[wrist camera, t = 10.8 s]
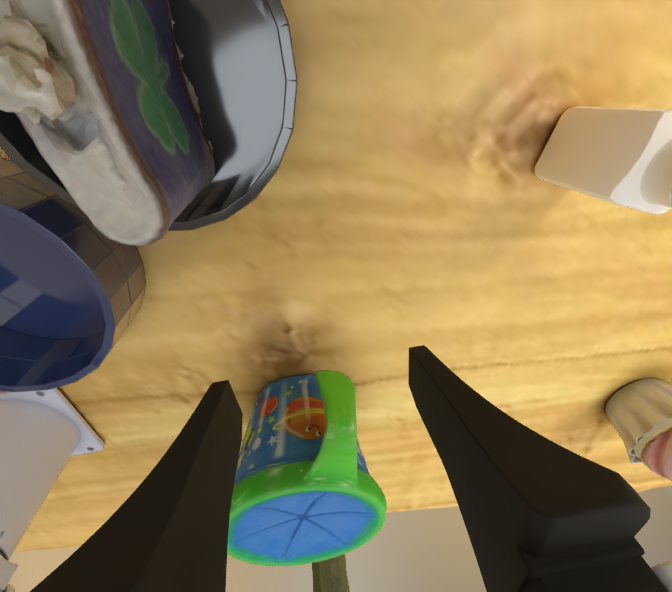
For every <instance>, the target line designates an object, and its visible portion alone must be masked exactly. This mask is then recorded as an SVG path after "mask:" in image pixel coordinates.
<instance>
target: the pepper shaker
mask: <svg viewBox="0 0 672 592" xmlns="http://www.w3.org/2000/svg"><path fill="white" fill-rule="evenodd" d="M534 173H535V174H536V175H537V177H538V178H539V179H541V180H544V181H547V182H550V183H553V184H556V185H559V186H562V187H565V188H568V189H571V190H574V191H577V192H580V193H583V194H586V195H589V196H592V197H595V198H599V199H602V200H605V201H608V202H611V203H614V204H617V205H621V206H625V207H628V208H632V209H636V210H639V211H643V212H647V213H651V214H655V215H659V214H661V213H664V212H666V211H667V210H669V209H671V208H672V109H646V108H617V107H588V106H577V107H572V108H569V109H567V110H566V111H565V112H564V113H563V114H562V116H561V117H560V119H559V121H558V123H557V125H556V127H555V129H554V131H553V133H552V135H551V137H550V139H549V140H548V142H547V144H546V146H545V148H544V150H543V152H542V154H541V156H540V158H539V160H538V162H537V164H536V166H535V170H534Z"/></svg>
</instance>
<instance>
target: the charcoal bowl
mask: <svg viewBox="0 0 672 592" xmlns="http://www.w3.org/2000/svg"><path fill="white" fill-rule="evenodd" d="M168 2H169V8H170V12H171V16H172V20H173V21H175V24H173V36H174V39H175V43H176V44H177V46H178V48H179V49H180V52H181V53H182V54H183V55H184V57H183V58H182V59H181V60H180V61H181V67H182V71H183V72H184V74H185V75H186V77H187V78H188V82H191V85H192V86H193V87H194V92H195V94H196V96H197V97H198V106H199V109H200V114H199V115H200V118H201V122H200V123H201V124H202V128H203V132H204V135H205V137H206V139H207V141H210V143H211V146H212V147H213V149H212V152H213V157H214V164H215V171H216V172H215V175H214V178H213V179H212V181H211V182H210V183H209V185H208V186H206V187H205V188H204V189H203V190H202V191H201V192H200V193H199V194H198V195H197V196H196V197H195V198H194V199H193V201H192V202H191V203H190V204H188V205H187V207H186V208H185V209H184V210H183V211H182V212H181V213H180V215H179V216H178V217H177V218H176V219H175V220H174V221H173V223H172V224H171V226H170V228H169V230H168V231H184V230H193V229H197V228H200V227H203V226H206V225H210V224H213V223H216V222H220V221H223V220H225V219H227V218H229V217H230V216H232V215H233V214H234V213H236V212H237V211H239V210H240V209H242V208H243V207H245V206H246V205H248V204H249V203H250V202H252V201H253V200H254V199H256V197H257V196H258V195H259V194H260V192H261V191H262V190H263V188H264V187H265V186H266V184H267V183H268V182H269V181H270V179H271V178H272V177H273V175H274V174H275V173H276V172H277V170H278V168H279V166H280V163H281V160H282V158H283V155H284V152H285V150H286V147H287V144H288V142H289V139H290V136H291V134H292V131H293V130H292V129H293V125H294V114H295V103H296V92H297V74H296V67H295V60H294V54H293V47H292V40H291V34H290V27H289V24H288V20H287V17H286V15H285V12H284V9H283V7H282V4H281V2H280V0H168ZM0 147H1V148H2V149H3V151H4V152H5V153H6V154H7V155H8V156H9V157H10V158H11V159H12V160H13V161H14V162H15V163H16V164H17V165H18V167H20V168H21V169H22V170H23V171H25V172H26V173H27V174H29V175H30V176H31V177H33V178H34V179H36V180H37V181H38V182H40V183H41V184H42V185H44V186H45V187H46V188H48V189H49V190H51V191H52V192H53V193H55V194H56V195H57V196H59V197H60V198H62V199H63V200H65V201H66V202H68V203H70V204H73V205H75V206H77V207H78V205H77V204H76V203H75V201H74V200H73V198H72V197H71V195H70V194H69V192H68V191H67V189H66V188H65V186H64V185H63V183H62V182H61V181H60V179H59V178H58V176H57V175H56V174H55V172H54V171H53V170H52V168H51V167H50V166H49V164H48V163H47V162H46V161H45V159H44V158H43V157H42V155H41V154H40V153H39V151H38V149H37V147H36V145H35V143H34V141H33V140H32V138H31V137H30V136H29V135H28V133H27V132H26V131H25V129H24V127H23V125H22V123H21V121H20V119H19V118H18V117H17V115H16V114H15V113H14V112H5V111H3V110H0Z"/></svg>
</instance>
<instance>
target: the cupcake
mask: <svg viewBox="0 0 672 592" xmlns="http://www.w3.org/2000/svg"><path fill="white" fill-rule="evenodd" d="M605 412H606V416H607V417H608V419H609V420H610V422H611V423H612V425H613V426H614V428H615V429H616V431H617V432H618V434H619V435H620V437H621V438H622V440H623V442H624V444H625V447H626V450H627V453H628V456H629V459H630V462H631V463H637V462H643V463H644V465H646V466H647V467H648V468H649V469H650V470H652V471H653V472H655V473H656V474H658V475H660V476H662V477H666V478H668V479H669V480H671V481H672V385H670V384H668V383H666V382H664V381H662V380H660V379H655V378H646V379H642V380H638V381H635V382H633V383H630V384H628V385H627V386H625V387H623V388H622V389H620V390H619V391H617V392H616V393H615V394H614V395H613V396H612V397H611V398H610V399H609V401H608V402H607V404H606V406H605Z"/></svg>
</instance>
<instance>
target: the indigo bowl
mask: <svg viewBox="0 0 672 592" xmlns="http://www.w3.org/2000/svg"><path fill="white" fill-rule="evenodd" d="M144 292H145V274H144V268H143V265H142V261H141V258H140V256H139V253H138V251H137V248H136V247H135V246H131V245H125V244H120V243H118V242H116V241H113V240H110V239H109V238H107V237H106V236H105V235H103V234H102V233H101V232H100V231H99V230H98V229H97V228H96V227H95V226H94V225H93V223H92V222H91V220H90V219H89V217H88V216H87V215H86V214H85V213H84V212H83V211H82V210H81V209H80V208H79V207H77V206H75V205H73V204H70V203H68V202H66V201H65V200H63V199H62V198H60V197H59V196H57V195H56V194H55V193H53V192H52V191H51V190H49V189H48V188H46V187H45V186H44V185H42V184H41V183H40V182H38V181H37V180H36V179H34V178H33V177H31V176H30V175H29V174H27V173H26V172H25V171H23V170H22V169H21V168H20V167H18V165H17V164H16V163H15V162H14V161H11V160H5V159H0V391H8V392H27V391H40V390H50V389H53V388H57V387H60V386H64V385H67V384H70V383H74V382H76V381H78V380H80V379H81V378H83V377H85V376H86V375H88V374H89V373H91V372H92V371H94V370H96V369H97V368H98V367H99V366H100V364H101V363H102V362H103V360H104V359H105V357H106V356H107V355H108V353H109V352H110V351H111V349H112V348H113V346H114V345H115V343H116V342H117V340H118V339H119V338H120V336H121V335H122V333H123V332H124V330H125V329H126V327H127V326H128V325H129V323H130V322H131V320H132V319H133V317H134V316H135V314H136V313H137V312H138V310H139V309H140V306H141V303H142V300H143V296H144Z"/></svg>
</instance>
